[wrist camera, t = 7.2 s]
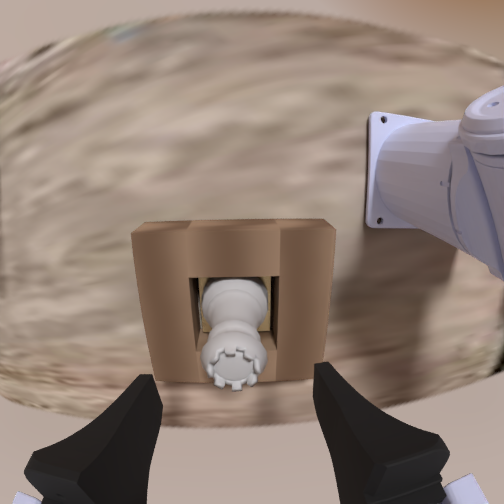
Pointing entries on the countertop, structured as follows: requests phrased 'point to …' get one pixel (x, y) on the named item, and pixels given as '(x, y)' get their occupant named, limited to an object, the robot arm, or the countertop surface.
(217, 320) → the rook chess piece
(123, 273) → the countertop surface
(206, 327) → the brass plunger
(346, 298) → the countertop surface
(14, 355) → the countertop surface
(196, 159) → the countertop surface
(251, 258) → the socket block
